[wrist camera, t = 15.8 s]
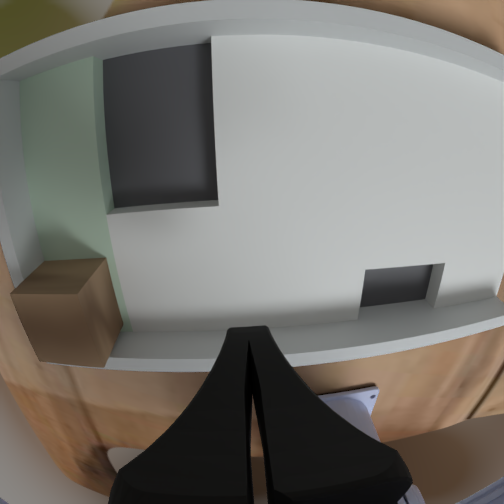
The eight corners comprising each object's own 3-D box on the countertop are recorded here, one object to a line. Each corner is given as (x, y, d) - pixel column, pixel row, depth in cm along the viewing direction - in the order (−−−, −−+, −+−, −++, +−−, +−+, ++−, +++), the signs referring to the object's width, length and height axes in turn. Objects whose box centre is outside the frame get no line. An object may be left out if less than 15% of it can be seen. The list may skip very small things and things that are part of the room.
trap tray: (482, 297, 21) (509, 323, 17) (68, 328, 20) (46, 363, 16) (511, 79, 14) (549, 80, 10) (21, 72, 12) (-19, 68, 9)
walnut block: (123, 324, 18) (104, 368, 14) (64, 322, 18) (39, 361, 14) (106, 257, 16) (77, 294, 12) (44, 260, 16) (9, 293, 12)
